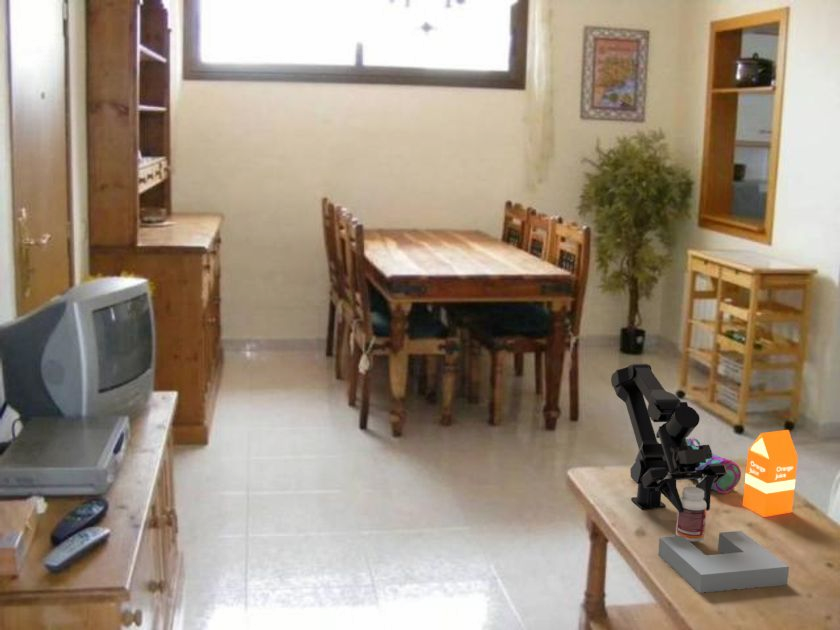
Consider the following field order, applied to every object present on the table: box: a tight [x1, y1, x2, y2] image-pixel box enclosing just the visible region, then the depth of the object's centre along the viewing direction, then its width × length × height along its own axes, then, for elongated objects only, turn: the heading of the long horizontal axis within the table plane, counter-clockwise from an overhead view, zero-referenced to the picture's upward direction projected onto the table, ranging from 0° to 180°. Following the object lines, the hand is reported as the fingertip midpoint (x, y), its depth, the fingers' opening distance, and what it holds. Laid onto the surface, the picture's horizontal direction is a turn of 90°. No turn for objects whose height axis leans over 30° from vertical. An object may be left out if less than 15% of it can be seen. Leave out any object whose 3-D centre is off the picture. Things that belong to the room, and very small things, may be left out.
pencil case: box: [686, 437, 742, 495], centre depth 261 cm, size 21×9×10 cm, turn 17°
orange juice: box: [742, 429, 799, 518], centre depth 242 cm, size 8×9×20 cm
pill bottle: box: [675, 486, 707, 542], centre depth 222 cm, size 6×6×11 cm
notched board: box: [657, 530, 790, 594], centre depth 210 cm, size 18×20×4 cm
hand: (695, 511), depth 221 cm, fingers closed on pill bottle, 6 cm apart
